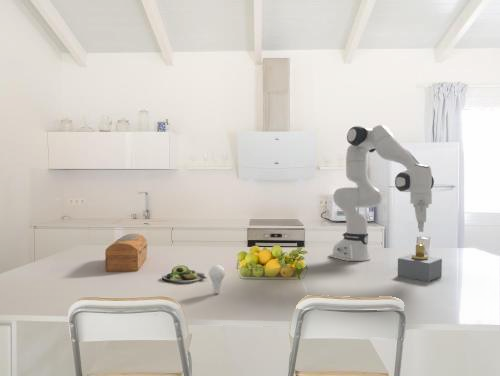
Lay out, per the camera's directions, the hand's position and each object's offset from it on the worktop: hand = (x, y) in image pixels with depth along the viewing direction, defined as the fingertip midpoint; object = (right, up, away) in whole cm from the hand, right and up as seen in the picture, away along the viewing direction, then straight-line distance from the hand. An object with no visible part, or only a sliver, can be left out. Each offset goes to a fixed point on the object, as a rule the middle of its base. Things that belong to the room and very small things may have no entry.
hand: (420, 230), depth 179 cm
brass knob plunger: (0, -21, +1) cm, 21 cm away
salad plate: (-106, -21, -4) cm, 108 cm away
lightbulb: (-90, -21, -27) cm, 96 cm away
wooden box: (-139, -20, +22) cm, 143 cm away
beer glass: (+9, -21, +18) cm, 28 cm away
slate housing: (0, -21, +1) cm, 21 cm away
